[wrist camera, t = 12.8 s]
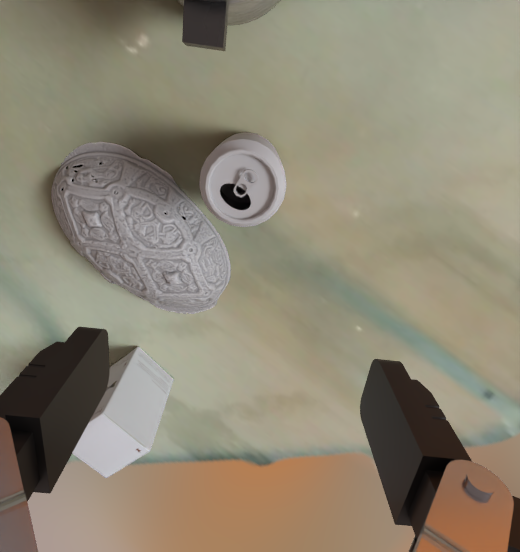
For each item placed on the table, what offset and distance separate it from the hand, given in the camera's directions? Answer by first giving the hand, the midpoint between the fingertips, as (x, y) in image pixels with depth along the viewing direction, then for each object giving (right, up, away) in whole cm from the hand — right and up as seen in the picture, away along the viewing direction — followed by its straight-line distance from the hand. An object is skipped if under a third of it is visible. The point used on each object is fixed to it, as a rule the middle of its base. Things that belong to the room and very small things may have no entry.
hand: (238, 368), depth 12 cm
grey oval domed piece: (-13, +8, +35) cm, 38 cm away
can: (-1, +15, +31) cm, 34 cm away
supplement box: (-16, -11, +42) cm, 47 cm away
